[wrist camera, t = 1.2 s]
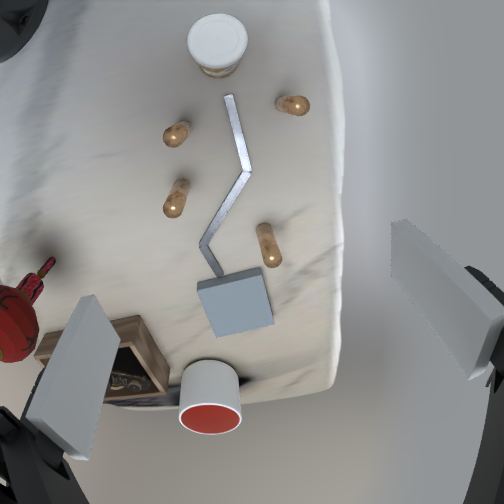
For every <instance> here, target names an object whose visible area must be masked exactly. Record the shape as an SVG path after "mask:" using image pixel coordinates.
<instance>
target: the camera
mask: <svg viewBox="0 0 504 504" xmlns="http://www.w3.org/2000/svg"><path fill="white" fill-rule="evenodd" d="M150 385H151V378H150V376H149V375H148V373H147V372H146V371H145V369H144V368H143V366H142V365H141V363H140V362H139V360H138V359H137V357H136V356H135V354H134V353H133V351H132V349H131V348H130V346H128V347H122V348H118V350H117V353H116V356H115V360H114V363H113V367H112V370H111V374H110V377H109V381H108V384H107V388H108V389H113V390H118V389H121V388H123V387H124V386H125V387H129V389H130V390H132V391H135V392H138V391H140V390H141V389H142V390H145V389H148V388H149V387H150Z"/></svg>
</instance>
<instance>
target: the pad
mask: <svg viewBox="0 0 504 504" xmlns="http://www.w3.org/2000/svg"><path fill="white" fill-rule="evenodd" d="M197 292H198V295H199V297H200V300H201V302H202V305H203V307H204V310H205V312H206V314H207V317H208V319H209V322H210V324H211V326H212V329H213V331H214V333H215V336H216V337H221V336H226V335H230V334H235V333H239V332H243V331H248V330H252V329H256V328H260V327H264V326H269V325H273V324H274V320H273V315H272V311H271V308H270V304H269V300H268V296H267V292H266V288H265V285H264V281H263V277H262V273H261V269H260V267H259V268H255V269H251V270H247V271H243V272H239V273H235V274H231V275H227V276H223V277H219V278H214V279H210V280H206V281H202V282H198V283H197Z"/></svg>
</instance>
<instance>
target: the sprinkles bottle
mask: <svg viewBox="0 0 504 504" xmlns="http://www.w3.org/2000/svg"><path fill="white" fill-rule="evenodd" d="M247 43H248V35H247V31H246V29H245V27H244V25H243V24H242V23H241V22H240V21H239V20H238V19H236V18H235V17H233V16H231V15H227V14H223V13H216V14H210V15H207V16H204V17H202V18H200V19H199V20H198V21H196V22H195V23H194V24H193V26H192V27H191V29H190V31H189V33H188V37H187V46H188V49H189V52H190V54H191V55H192V57H193V58H194V60H195V61H196V62H197V63H198V65H199V66H200V68H201V70H202V71H203V73H205V74H206V75H208V76H209V77H213V78H223V77H226V76H229V75H230V74H232V73H233V72H234V70H235V69H236V67H237V65H238V62H239V60H240V58H241V57H242V55H243V54H244V52H245V50H246V47H247Z"/></svg>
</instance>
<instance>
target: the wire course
mask: <svg viewBox="0 0 504 504" xmlns="http://www.w3.org/2000/svg"><path fill="white" fill-rule="evenodd" d="M224 99H225V103H226V107H227V110H228V114H229V118H230V122H231V126H232V130H233V133H234V137H235V141H236V145H237V149H238V153H239V157H240V160H241V164H242V168H243V171H242V172H241V174H240V176H239V177H238V179H237V180H236V182H235V184H234V185H233V187H232V189H231V190H230V192H229V193H228V195H227V197H226V198H225V200H224V202H223V203H222V205H221V207H220V208H219V210H218V212H217V213H216V215H215V217H214V218H213V220H212V222H211V223H210V225H209V227H208V229H207V230H206V232H205V234H204V235H203V237H202V239H201V241H200V242H199V245H200V246H199V249H200V250H201V252H202V254H203V255H204V257H205V259H206V260H207V262H208V263H209V265H210V267H211V268H212V270H213V272H214V273H215V275H216V276H217V277H220V276H222V275H224V272H223V271H222V269H221V267H220V266H219V264H218V262H217V261H216V259H215V257H214V255H213V254H212V252H211V250H210V249H209V247H208V243H209V242H210V240H211V238H212V237H213V235H214V233H215V232H216V230H217V229H218V227H219V225H220V224H221V222H222V220H223V219H224V217H225V215H226V214H227V212H228V210H229V209H230V207H231V206H232V204H233V202H234V201H235V199H236V198H237V196H238V194H239V193H240V191H241V189H242V188H243V186H244V185H245V183H246V181H247V180H248V178H249V177H250V175H251V172H249V171H252V169H251V165H250V161H249V157H248V153H247V149H246V145H245V141H244V137H243V133H242V129H241V125H240V121H239V118H238V114H237V110H236V106H235V102H234V98H233V94H231V95H227V96H224ZM275 107H276V109H277V110H278V111H280V112H284V113H288V114H292V115H296V116H303V115H305V114H307V112H308V111H309V109H310V104H309V101H308V100H307V99H306V98H305V97H303V96H280V97H278V98H277V99H276V101H275ZM191 131H192V127H191V124H190V123H189V122H187V121H180V122H178V123H176V124H175V125H173V126H171V127H169V128H168V129H166V130H165V132H164V134H163V141H164V143H165V144H166V145H167V146H169V147H178V146H179V145H181V144H182V142H183V141H184V140H185V139H186V138H187V137H188V136H189V135H190V133H191ZM189 189H190V184H189V182H188V181H187V180H185V179H179V180H177V181H176V182H175V184H174V186H173V187H172V189H171V191H170V193H169V195H168V197H167V199H166V201H165V203H164V205H163V212H164V214H165V215H166V216H167V217H169V218H177V217H179V216H180V215H181V214H182V211H183V208H184V205H185V202H186V199H187V195H188V192H189ZM256 233H257V237H258V241H259V245H260V248H261V252H262V256H263V260H264V263H265V265H266V266H267V267H269V268H275V267H278V266H279V265H280V264H281V262H282V256H281V253H280V250H279V248H278V245H277V242H276V240H275V237H274V234H273V231H272V229H271V226H270V225H269V224H267V223H261V224H259V225H258V226H257V228H256Z"/></svg>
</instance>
